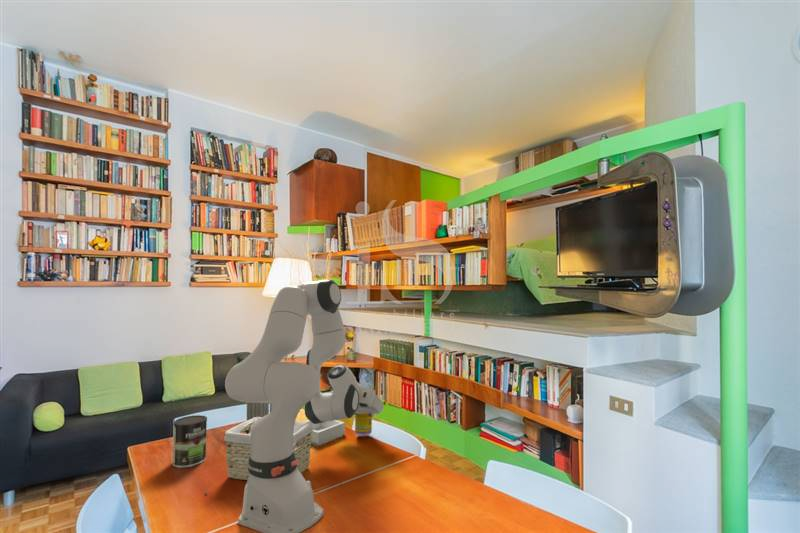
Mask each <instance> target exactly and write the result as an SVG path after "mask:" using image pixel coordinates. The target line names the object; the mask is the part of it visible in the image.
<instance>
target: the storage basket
mask: <svg viewBox="0 0 800 533" xmlns="http://www.w3.org/2000/svg"><path fill="white" fill-rule="evenodd" d="M260 418H262V417H254V418H252V419H250V420H248V421H247V420H246V421H244V422H241V423H239V424H238V425H235V426H233V427H232V428H230V429H226V431H225V432H224V436H223V440H224V442H225V449H226V450H225V452H226V453H225V458H226V466H227V467H226V470H227V477H228V478H230V479H233V480H241V481H243V480H244V481H246V482H247V481H248V478H249V474H250V473H249V471H248V461H249V456H250V450H251V429H252V427H253V425H254V424H255V422H256V421H257V420H259V419H260ZM247 430H248V431H249V433H248V434H246V431H247ZM312 431H313V425H312V423H311V422H305V421H299V420H295V424H294V432H293V450H294V453H295V456H296V460H298V459H299V461H297V463H298V464H297V468H298V470H299V471H300V473H301V474H302V473H304V472H305V471H306V470H307V469H308V468H309V466H310V457H311V456H310V455H311V445H312V444H311V434H312Z"/></svg>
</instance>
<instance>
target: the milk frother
mask: <svg viewBox="0 0 800 533" xmlns="http://www.w3.org/2000/svg"><path fill="white" fill-rule="evenodd" d="M270 412H271V404H269V403H246V421H248V420H250V419H252V418H254V417H264V416H265V415H267V414H270ZM248 433H249V431H248V430H247V431H245V434H248Z"/></svg>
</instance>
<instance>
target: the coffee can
mask: <svg viewBox="0 0 800 533" xmlns="http://www.w3.org/2000/svg"><path fill="white" fill-rule="evenodd" d="M207 421H208V417H207V416H205V415H199V414H198V415H189V416H184V417H179V418H177V419H176V420H174V421H173V451H172V453H173V454H172V466H173V467H175V468H179V469H181V468H182V469H184V468H191V467H194V466H198V465H200V464H202V463H204V462H205V461H206V459H207V426H208V425H207V423H208V422H207Z"/></svg>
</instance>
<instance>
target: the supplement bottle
mask: <svg viewBox="0 0 800 533" xmlns="http://www.w3.org/2000/svg"><path fill="white" fill-rule="evenodd" d="M369 414H370V413H365V412H355V415H354V434H355V436H358V437H367V436H368V437H369V436H370V435H372V432H373V430H372V428H373V426H372V425H373V424H372V423H373V422H372V421H373V420H372V418H373V417H370V415H369Z"/></svg>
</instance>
